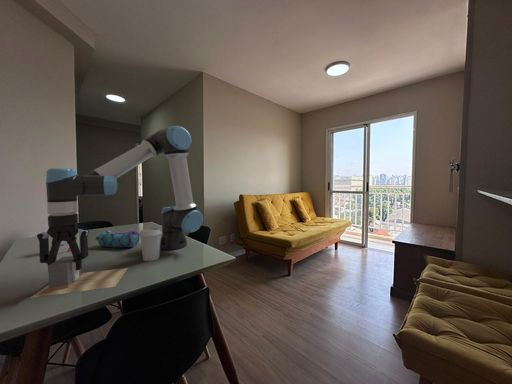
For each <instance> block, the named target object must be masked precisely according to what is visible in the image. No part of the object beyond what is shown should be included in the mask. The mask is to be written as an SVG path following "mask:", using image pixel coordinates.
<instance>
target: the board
mask: <svg viewBox="0 0 512 384" xmlns="http://www.w3.org/2000/svg"><path fill="white" fill-rule="evenodd" d="M128 269H129V267H124V268H123V267H122V268H116V269H115V268H114V269H107V270H97V271H87V272H80V276H81V277H80V278H79V279H77V280H76V281H75V282H74V283H73V284H72V285H70V286H69V287H67V288H59V289H51V290H49V284H47V285H46V286H44V287H43V288H42V289H41V290H40V289H39V291H38V292H36V293H35V294H33V295H32V296H31V297H30V299H32V298H41V297H42V298H43V297H48V296H55V295H57V296H58V295H62V294H72V293H78V292H84V291H85V292H86V291H94V290H100V289H101V290H102V289H108V288H109V289H110V288H115V287H116V285H117V284H118V283H119V281H120V280H121V279H122V277H123V276H124V275H125V273H127V271H128Z"/></svg>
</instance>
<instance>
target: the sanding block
mask: <svg viewBox="0 0 512 384" xmlns="http://www.w3.org/2000/svg"><path fill="white" fill-rule="evenodd" d="M74 261H75V260H74V257H73V255H72V256H62V257H61V258H59V259H56V261H55V262H53V263H52V264H50V265H48V264H47V273H48V285H49V290H51V289H59V288H67V287H69V286H70V285H72V284H73V283H74V282H75V281H73V277H72V262H74ZM80 273H81V269H80V270H79V278H80V277H81V276H80ZM79 278H78V279H79Z"/></svg>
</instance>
